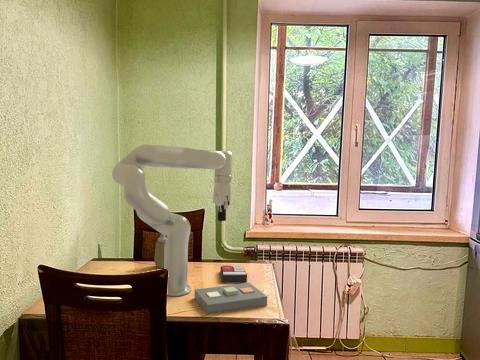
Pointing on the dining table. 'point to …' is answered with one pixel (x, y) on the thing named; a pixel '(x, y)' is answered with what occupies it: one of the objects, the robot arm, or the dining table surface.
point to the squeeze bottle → (160, 252)
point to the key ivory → (213, 294)
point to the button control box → (233, 274)
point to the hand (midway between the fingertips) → (221, 220)
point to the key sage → (230, 291)
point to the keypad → (230, 299)
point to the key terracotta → (246, 290)
